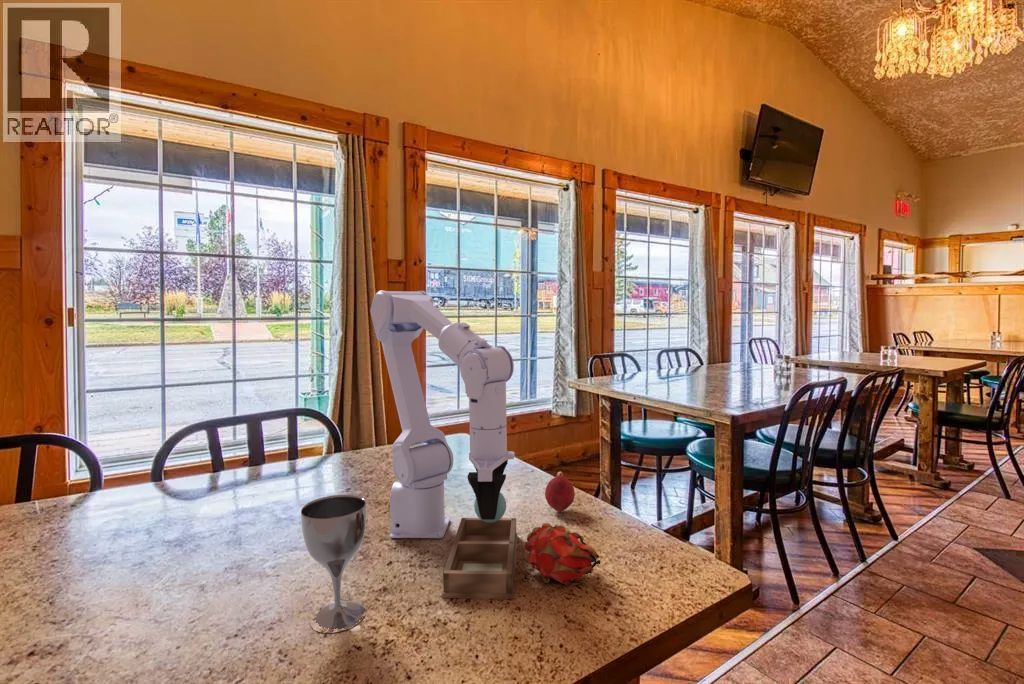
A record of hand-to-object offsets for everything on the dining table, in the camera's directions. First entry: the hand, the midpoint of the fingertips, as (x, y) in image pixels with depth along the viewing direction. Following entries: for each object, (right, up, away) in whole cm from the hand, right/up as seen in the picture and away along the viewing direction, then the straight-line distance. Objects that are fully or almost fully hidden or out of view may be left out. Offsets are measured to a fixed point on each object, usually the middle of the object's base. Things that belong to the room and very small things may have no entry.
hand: (489, 511), depth 79 cm
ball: (0, +1, 0) cm, 1 cm away
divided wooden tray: (-1, -9, +1) cm, 9 cm away
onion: (+13, -7, +20) cm, 25 cm away
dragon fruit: (+11, -9, -3) cm, 14 cm away
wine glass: (-20, -10, -12) cm, 25 cm away
